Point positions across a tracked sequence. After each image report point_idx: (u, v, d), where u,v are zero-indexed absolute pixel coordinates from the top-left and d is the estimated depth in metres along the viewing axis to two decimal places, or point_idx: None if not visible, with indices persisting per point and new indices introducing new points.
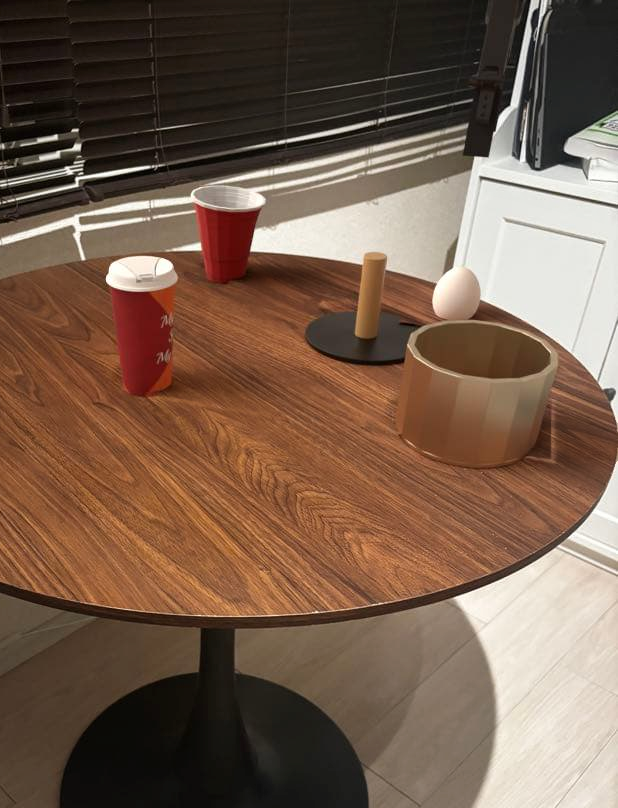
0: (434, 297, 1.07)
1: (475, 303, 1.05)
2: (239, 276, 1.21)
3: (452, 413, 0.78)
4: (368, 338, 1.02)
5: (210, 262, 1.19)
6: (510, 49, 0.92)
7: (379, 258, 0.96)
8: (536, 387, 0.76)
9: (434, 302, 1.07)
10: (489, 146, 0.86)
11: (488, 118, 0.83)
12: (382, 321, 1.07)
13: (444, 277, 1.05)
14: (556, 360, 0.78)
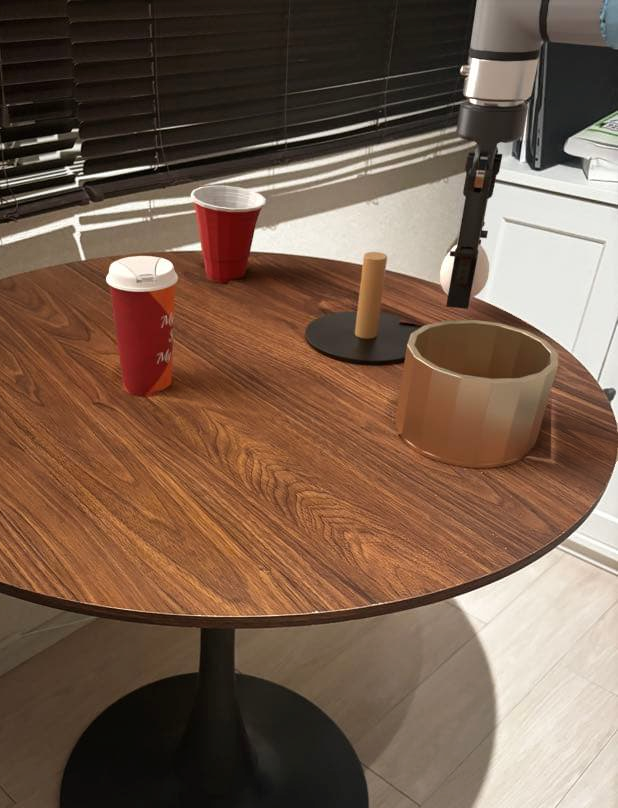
0: (441, 272, 1.04)
1: (484, 278, 1.03)
2: (239, 276, 1.21)
3: (452, 413, 0.78)
4: (368, 338, 1.02)
5: (210, 262, 1.19)
6: (483, 220, 1.04)
7: (379, 258, 0.96)
8: (536, 387, 0.76)
9: (442, 277, 1.04)
10: (468, 300, 1.03)
11: (466, 280, 1.00)
12: (382, 321, 1.07)
13: None
14: (556, 360, 0.78)
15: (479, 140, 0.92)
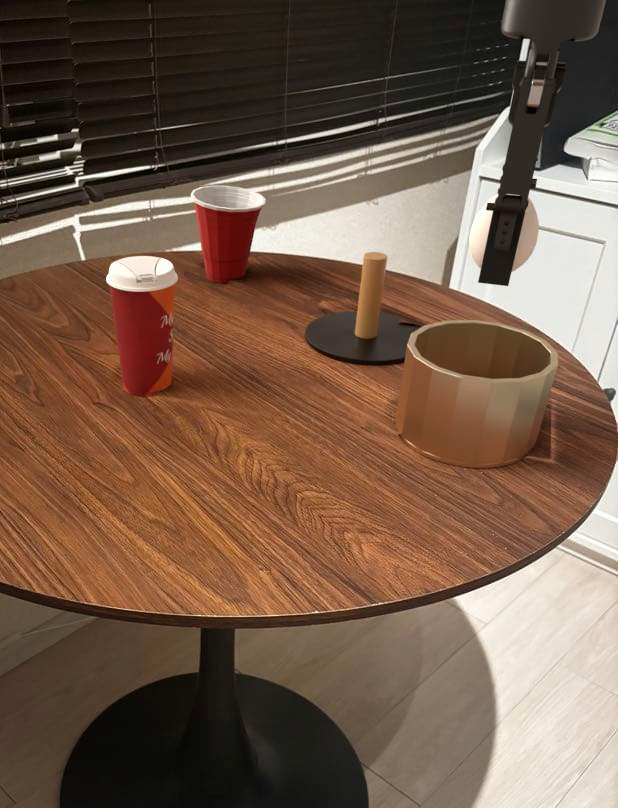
0: (472, 234, 0.75)
1: (531, 242, 0.74)
2: (239, 276, 1.21)
3: (452, 413, 0.78)
4: (368, 338, 1.02)
5: (210, 262, 1.19)
6: None
7: (379, 258, 0.96)
8: (536, 387, 0.76)
9: (472, 241, 0.75)
10: (509, 274, 0.74)
11: (508, 245, 0.71)
12: (382, 321, 1.07)
13: None
14: (556, 360, 0.78)
15: (536, 36, 0.63)
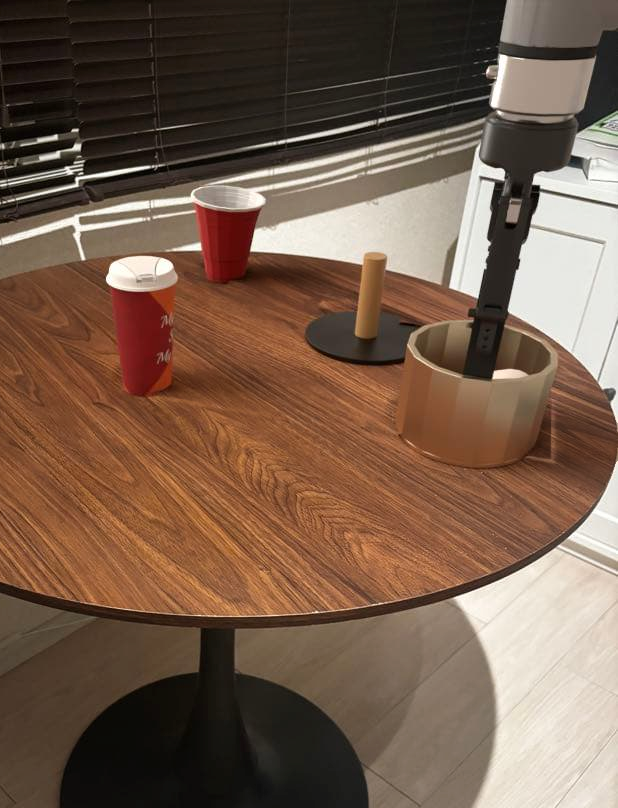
0: None
1: None
2: (239, 276, 1.21)
3: (452, 413, 0.78)
4: (368, 338, 1.02)
5: (210, 262, 1.19)
6: None
7: (379, 258, 0.96)
8: (536, 387, 0.76)
9: None
10: (491, 375, 0.75)
11: (490, 350, 0.73)
12: (382, 321, 1.07)
13: None
14: (556, 360, 0.78)
15: (511, 168, 0.67)
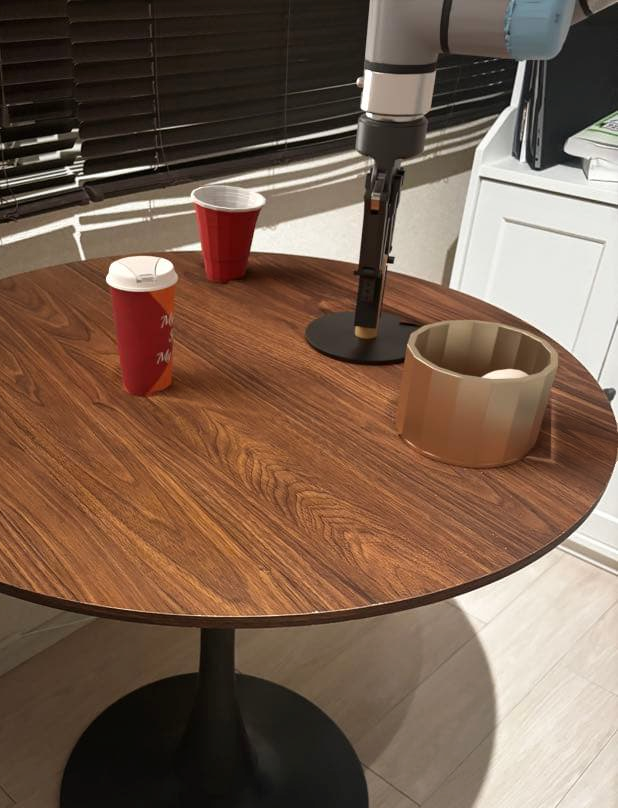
0: None
1: None
2: (239, 276, 1.21)
3: (452, 413, 0.78)
4: (368, 338, 1.02)
5: (210, 262, 1.19)
6: (389, 244, 0.98)
7: None
8: (536, 387, 0.76)
9: None
10: (375, 320, 1.00)
11: (371, 300, 0.97)
12: (382, 321, 1.07)
13: None
14: (556, 360, 0.78)
15: (376, 156, 0.87)
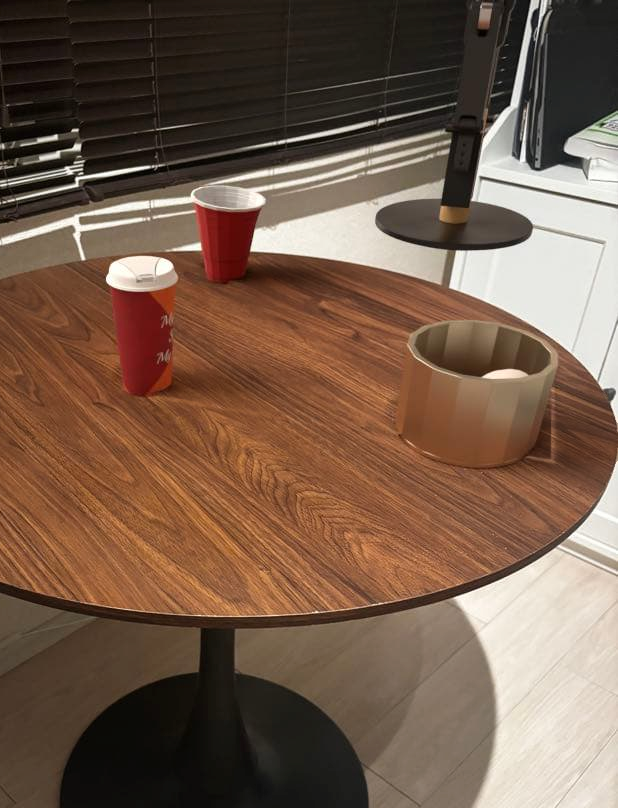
0: None
1: None
2: (239, 276, 1.21)
3: (452, 413, 0.78)
4: (457, 223, 0.80)
5: (210, 262, 1.19)
6: (489, 95, 0.76)
7: None
8: (536, 387, 0.76)
9: None
10: (469, 196, 0.78)
11: (467, 166, 0.75)
12: (471, 207, 0.85)
13: None
14: (556, 360, 0.78)
15: None
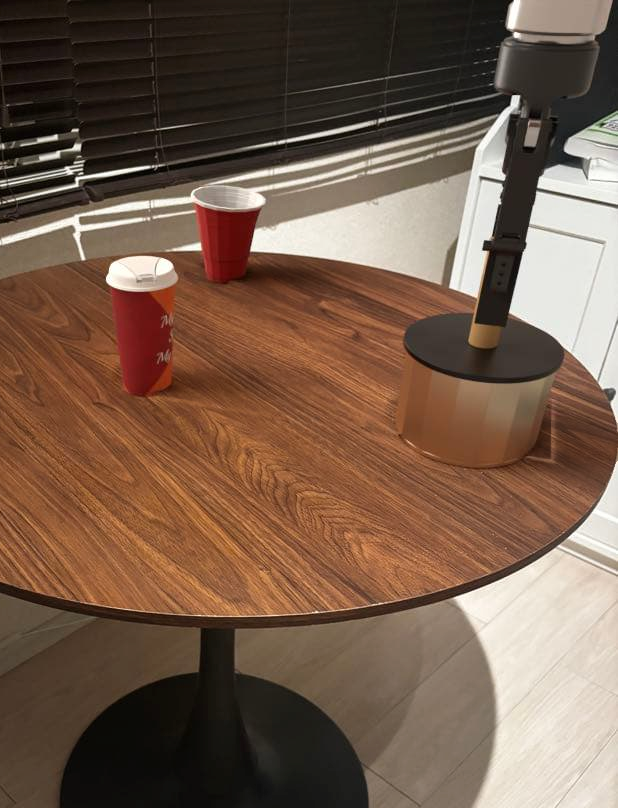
0: None
1: None
2: (239, 276, 1.21)
3: (452, 413, 0.78)
4: (488, 348, 0.79)
5: (210, 262, 1.19)
6: None
7: None
8: (536, 387, 0.76)
9: None
10: (506, 315, 0.71)
11: (506, 287, 0.68)
12: None
13: None
14: None
15: (528, 94, 0.64)
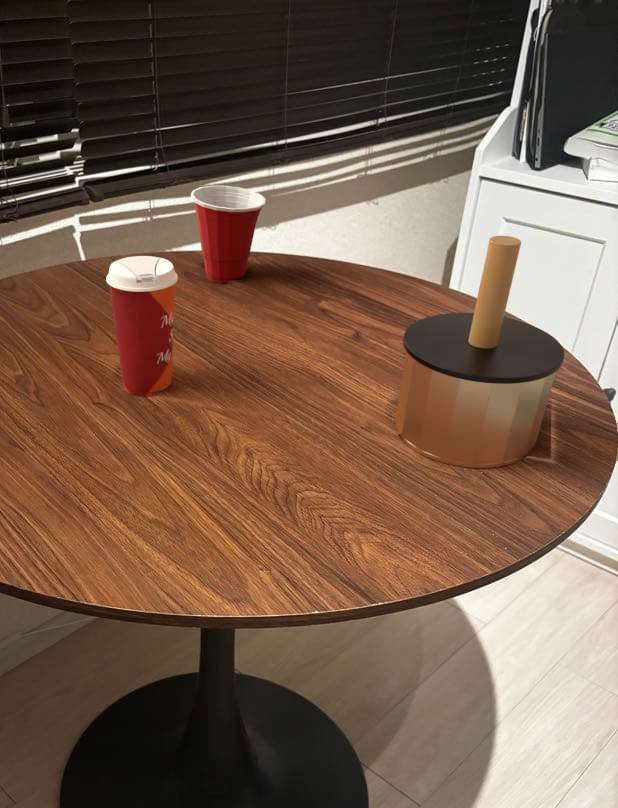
0: None
1: None
2: (239, 276, 1.21)
3: (452, 413, 0.78)
4: (488, 348, 0.79)
5: (210, 262, 1.19)
6: None
7: (511, 243, 0.73)
8: (536, 387, 0.76)
9: None
10: None
11: None
12: None
13: None
14: None
15: None
